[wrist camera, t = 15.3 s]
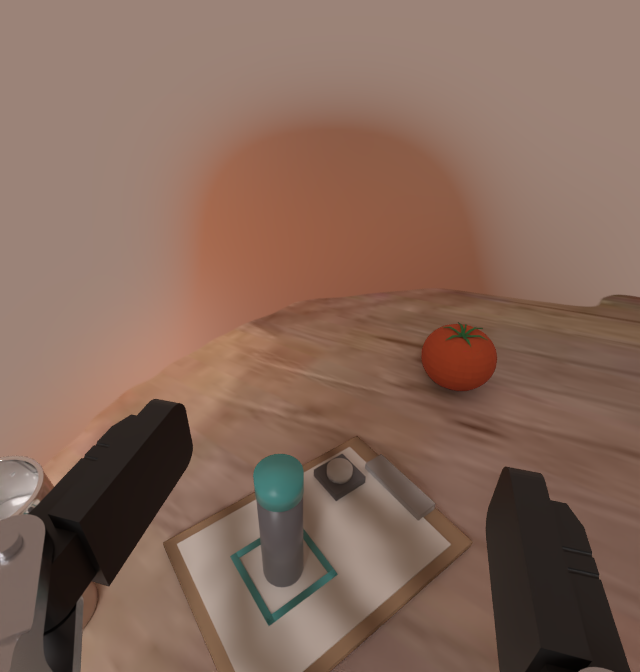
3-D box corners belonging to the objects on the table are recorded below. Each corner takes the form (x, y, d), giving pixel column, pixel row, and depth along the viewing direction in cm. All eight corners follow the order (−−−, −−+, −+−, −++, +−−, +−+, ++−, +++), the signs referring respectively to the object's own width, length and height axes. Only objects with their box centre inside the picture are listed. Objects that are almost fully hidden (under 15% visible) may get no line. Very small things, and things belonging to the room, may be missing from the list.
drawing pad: (356, 439, 52) (358, 423, 50) (471, 545, 40) (477, 529, 39) (164, 546, 40) (159, 529, 38) (248, 743, 28) (245, 730, 27)
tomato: (403, 372, 64) (412, 315, 58) (455, 357, 68) (468, 302, 62) (448, 414, 56) (462, 352, 51) (503, 394, 60) (523, 334, 55)
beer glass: (14, 684, 30) (-88, 571, 23) (3, 603, 35) (-86, 486, 27) (114, 619, 34) (56, 502, 26) (92, 554, 39) (37, 438, 31)
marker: (289, 539, 39) (286, 446, 33) (312, 571, 37) (313, 477, 30) (255, 561, 38) (244, 468, 31) (276, 597, 35) (269, 503, 29)
